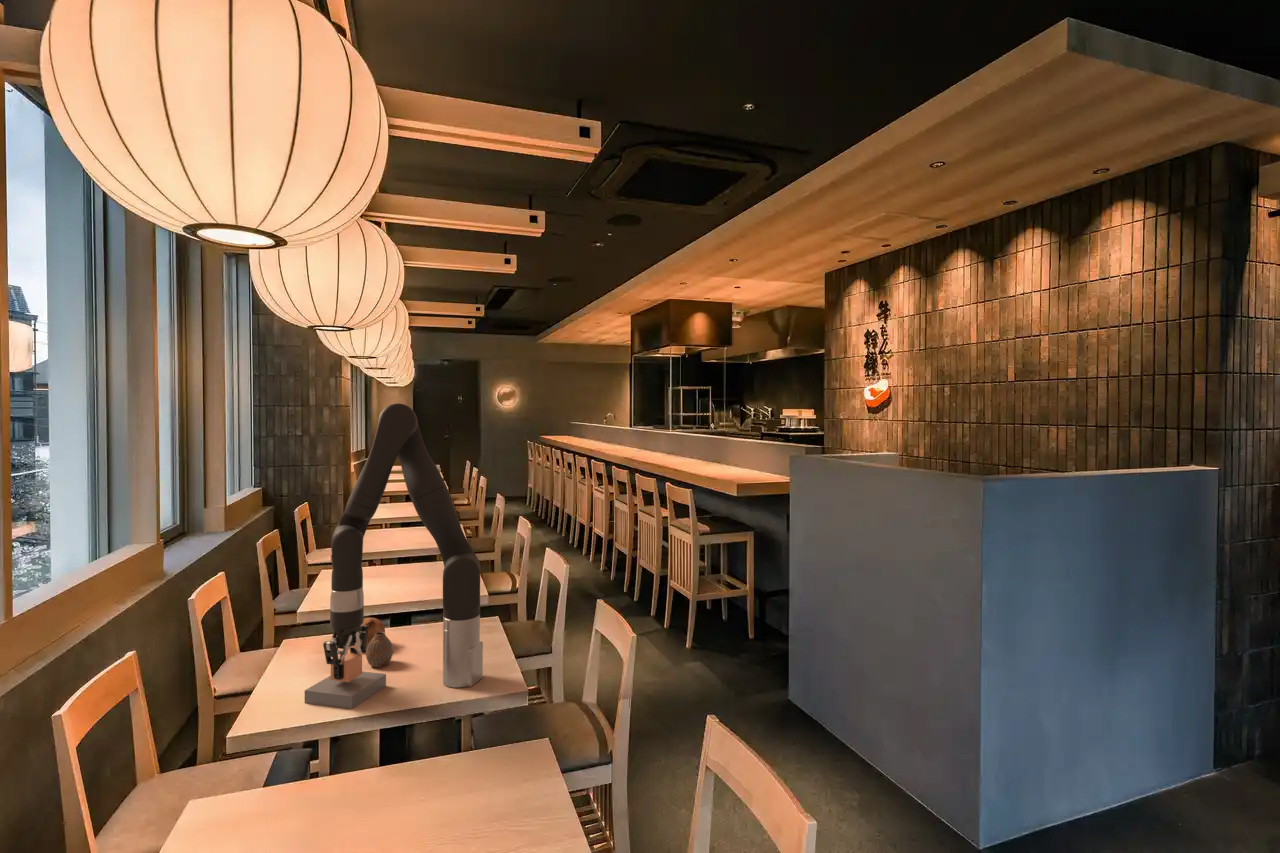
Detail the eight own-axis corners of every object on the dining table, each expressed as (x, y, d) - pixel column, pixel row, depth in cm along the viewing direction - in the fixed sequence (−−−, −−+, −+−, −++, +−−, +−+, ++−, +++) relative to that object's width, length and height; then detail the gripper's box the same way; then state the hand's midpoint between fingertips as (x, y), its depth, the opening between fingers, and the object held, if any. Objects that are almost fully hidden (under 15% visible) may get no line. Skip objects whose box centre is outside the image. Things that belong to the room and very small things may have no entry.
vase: (397, 660, 175) (397, 629, 174) (385, 670, 168) (385, 638, 168) (374, 659, 175) (374, 628, 175) (360, 669, 168) (361, 637, 168)
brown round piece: (373, 661, 181) (378, 635, 177) (342, 652, 181) (346, 626, 177) (388, 639, 190) (392, 614, 186) (358, 630, 190) (362, 605, 186)
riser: (386, 685, 158) (386, 674, 158) (351, 709, 145) (352, 696, 145) (341, 680, 161) (341, 669, 161) (304, 702, 148) (304, 690, 148)
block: (362, 673, 155) (362, 654, 155) (348, 682, 150) (348, 661, 150) (344, 671, 156) (344, 652, 156) (330, 679, 151) (330, 659, 151)
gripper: (340, 616, 145) (340, 688, 145) (378, 599, 159) (378, 664, 159) (312, 613, 147) (312, 685, 147) (353, 596, 161) (352, 661, 161)
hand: (346, 674), depth 153 cm, fingers closed on block, 5 cm apart
